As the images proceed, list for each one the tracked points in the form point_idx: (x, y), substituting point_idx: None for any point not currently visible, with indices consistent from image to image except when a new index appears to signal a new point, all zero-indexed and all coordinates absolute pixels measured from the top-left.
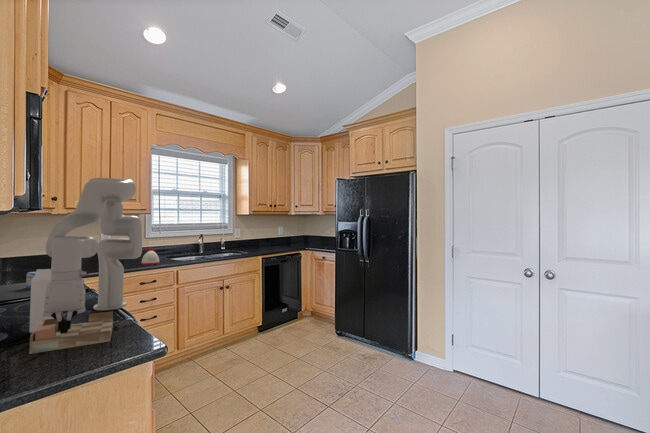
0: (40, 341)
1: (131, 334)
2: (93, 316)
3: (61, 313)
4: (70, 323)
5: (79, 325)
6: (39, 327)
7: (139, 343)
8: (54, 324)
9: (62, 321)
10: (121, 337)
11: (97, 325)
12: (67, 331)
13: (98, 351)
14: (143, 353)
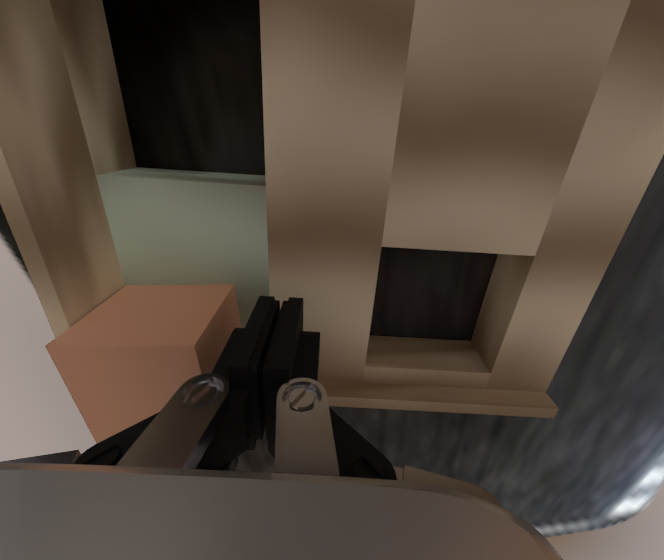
0: None
1: (651, 318)
2: None
3: (188, 461)
4: (317, 373)
5: (385, 19)
6: (80, 380)
7: (604, 449)
8: (180, 350)
9: (251, 448)
10: (583, 338)
11: (535, 144)
12: (302, 326)
13: (440, 450)
14: (563, 525)
